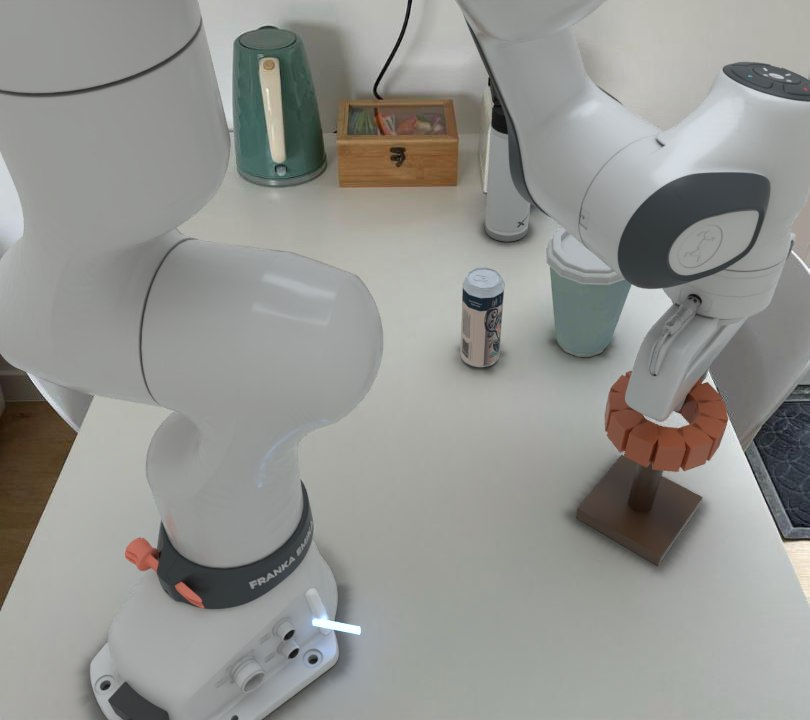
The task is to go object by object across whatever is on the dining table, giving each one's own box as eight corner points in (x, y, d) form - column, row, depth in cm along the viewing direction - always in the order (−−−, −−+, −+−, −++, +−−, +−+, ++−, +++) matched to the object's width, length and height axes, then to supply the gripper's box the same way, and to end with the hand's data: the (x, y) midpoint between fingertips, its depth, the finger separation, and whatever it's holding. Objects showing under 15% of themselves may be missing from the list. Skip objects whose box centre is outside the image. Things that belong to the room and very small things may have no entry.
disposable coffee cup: (636, 364, 97) (659, 262, 87) (549, 375, 96) (562, 273, 86) (606, 309, 105) (625, 210, 95) (525, 319, 104) (536, 219, 94)
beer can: (496, 372, 97) (502, 292, 89) (457, 367, 98) (459, 288, 89) (501, 346, 100) (507, 267, 92) (463, 341, 101) (466, 263, 93)
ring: (689, 490, 68) (697, 467, 66) (584, 435, 73) (588, 412, 71) (737, 420, 73) (745, 397, 71) (636, 374, 78) (641, 351, 76)
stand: (658, 566, 77) (683, 489, 69) (575, 517, 81) (590, 440, 73) (699, 506, 82) (727, 428, 74) (619, 463, 86) (638, 385, 78)
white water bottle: (532, 242, 117) (545, 111, 103) (486, 242, 117) (493, 111, 103) (527, 218, 121) (540, 90, 108) (483, 219, 122) (490, 90, 108)
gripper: (700, 353, 57) (663, 478, 67) (804, 227, 69) (760, 349, 78) (620, 318, 60) (595, 442, 70) (733, 203, 72) (698, 323, 81)
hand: (683, 392), depth 74 cm, fingers closed on ring, 2 cm apart
